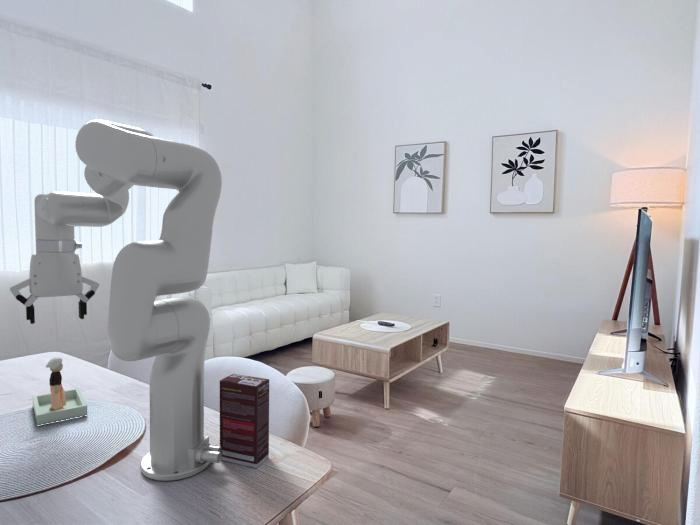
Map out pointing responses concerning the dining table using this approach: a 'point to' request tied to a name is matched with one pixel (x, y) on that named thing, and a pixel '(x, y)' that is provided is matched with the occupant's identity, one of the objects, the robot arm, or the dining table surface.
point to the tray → (71, 409)
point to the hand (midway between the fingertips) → (57, 320)
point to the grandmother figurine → (56, 384)
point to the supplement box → (244, 420)
